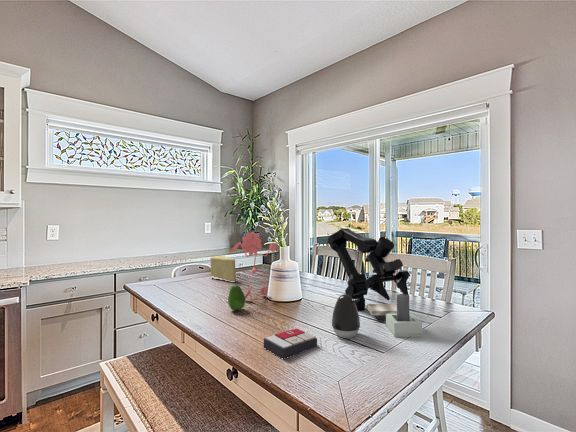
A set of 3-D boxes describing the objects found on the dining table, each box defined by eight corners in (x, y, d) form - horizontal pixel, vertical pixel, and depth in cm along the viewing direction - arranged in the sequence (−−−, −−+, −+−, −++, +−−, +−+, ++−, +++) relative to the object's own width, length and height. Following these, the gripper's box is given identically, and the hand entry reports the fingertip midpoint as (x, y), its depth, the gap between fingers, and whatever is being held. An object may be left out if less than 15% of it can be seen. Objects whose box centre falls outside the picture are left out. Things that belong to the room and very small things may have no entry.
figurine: (281, 295, 170) (279, 230, 169) (238, 306, 154) (235, 233, 153) (265, 290, 182) (262, 229, 181) (223, 300, 166) (221, 232, 165)
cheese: (241, 281, 204) (241, 258, 203) (228, 284, 197) (227, 260, 197) (223, 276, 220) (222, 254, 219) (210, 279, 213) (209, 256, 213)
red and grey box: (317, 336, 110) (283, 347, 100) (317, 348, 110) (283, 360, 100) (296, 327, 118) (263, 336, 109) (296, 338, 118) (263, 348, 109)
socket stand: (394, 336, 115) (394, 323, 115) (386, 326, 125) (385, 313, 125) (422, 336, 115) (422, 322, 115) (411, 325, 125) (411, 313, 125)
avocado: (224, 311, 148) (224, 285, 147) (238, 306, 153) (237, 281, 153) (235, 314, 142) (234, 288, 142) (249, 310, 148) (248, 284, 148)
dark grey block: (396, 329, 119) (396, 296, 119) (397, 325, 123) (397, 293, 123) (409, 331, 118) (409, 297, 117) (409, 327, 122) (409, 294, 121)
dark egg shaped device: (354, 343, 110) (354, 300, 110) (327, 337, 116) (326, 296, 115) (364, 333, 119) (364, 292, 119) (338, 328, 125) (337, 289, 124)
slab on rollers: (372, 321, 131) (372, 311, 131) (366, 313, 140) (366, 304, 140) (406, 320, 131) (406, 310, 131) (399, 313, 140) (399, 303, 140)
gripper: (369, 254, 123) (389, 290, 113) (406, 250, 130) (428, 283, 121) (357, 271, 130) (375, 305, 121) (393, 266, 138) (412, 298, 128)
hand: (398, 298), depth 122 cm, fingers open, 9 cm apart
